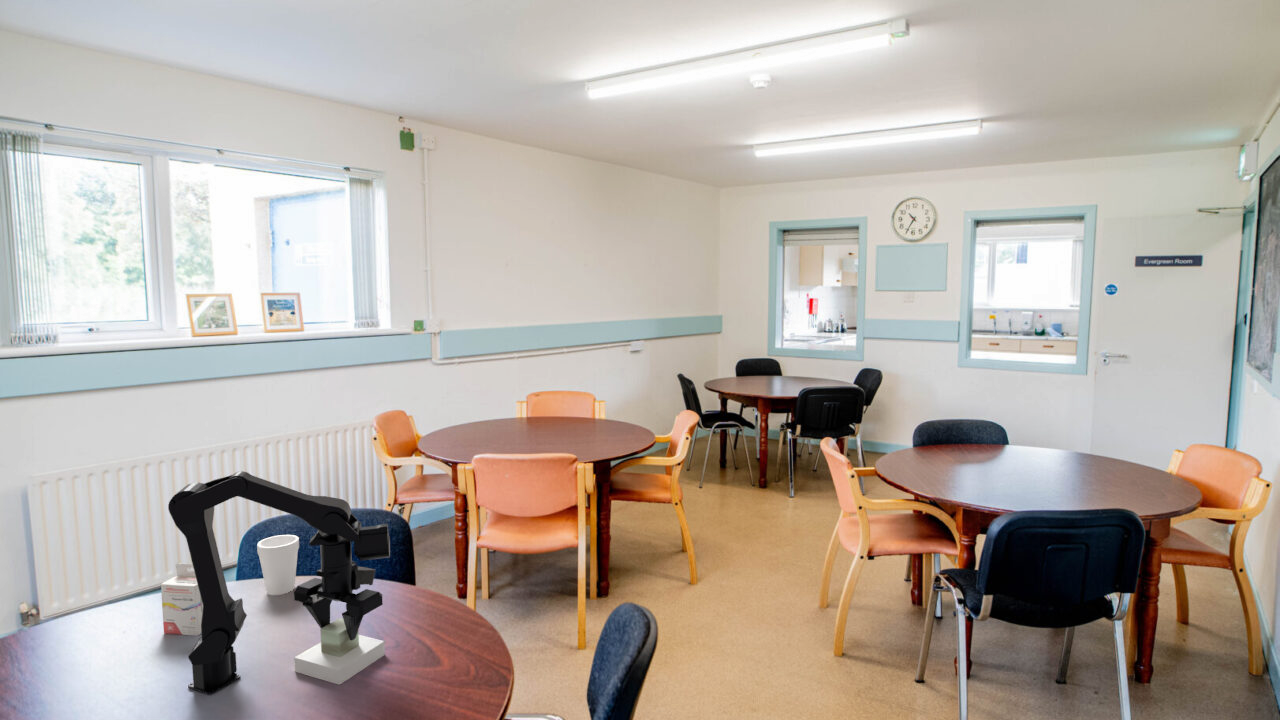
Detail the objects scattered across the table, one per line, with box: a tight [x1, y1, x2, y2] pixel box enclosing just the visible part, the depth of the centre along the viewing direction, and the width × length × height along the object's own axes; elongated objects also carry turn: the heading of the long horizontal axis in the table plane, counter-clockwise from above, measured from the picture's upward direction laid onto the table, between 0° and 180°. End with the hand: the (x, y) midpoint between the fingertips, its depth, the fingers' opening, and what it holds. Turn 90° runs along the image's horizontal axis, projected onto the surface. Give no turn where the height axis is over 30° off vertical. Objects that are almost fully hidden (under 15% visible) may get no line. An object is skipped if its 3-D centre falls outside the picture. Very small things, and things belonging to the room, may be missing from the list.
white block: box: [293, 634, 386, 685], centre depth 138 cm, size 12×12×3 cm
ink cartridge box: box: [160, 562, 203, 636], centre depth 151 cm, size 9×5×15 cm, turn 84°
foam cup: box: [256, 534, 300, 596], centre depth 172 cm, size 10×9×13 cm
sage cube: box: [320, 617, 360, 657], centre depth 138 cm, size 5×5×5 cm
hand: (339, 636), depth 138 cm, fingers open, 7 cm apart
